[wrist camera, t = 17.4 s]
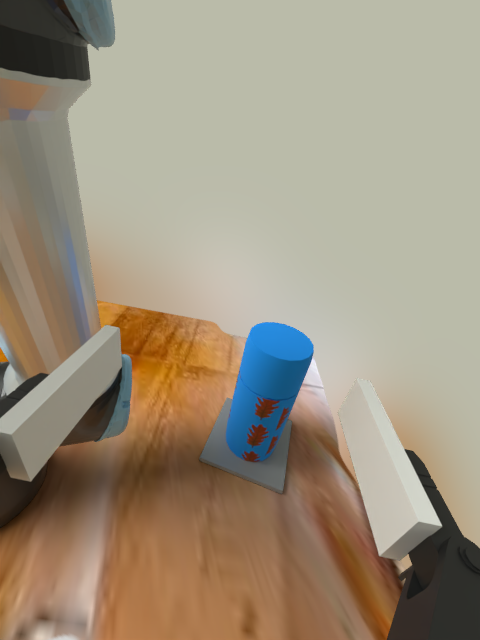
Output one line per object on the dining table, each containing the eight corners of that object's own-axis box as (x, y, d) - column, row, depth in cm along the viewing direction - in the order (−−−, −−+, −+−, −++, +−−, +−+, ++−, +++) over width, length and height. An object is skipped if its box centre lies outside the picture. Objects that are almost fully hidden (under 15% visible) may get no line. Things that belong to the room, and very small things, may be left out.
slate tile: (199, 460, 48) (199, 457, 48) (226, 400, 62) (227, 397, 61) (281, 494, 46) (283, 491, 45) (290, 423, 59) (292, 420, 59)
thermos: (233, 409, 58) (255, 315, 46) (278, 425, 57) (314, 332, 45) (217, 451, 49) (241, 348, 37) (271, 471, 48) (315, 370, 35)
